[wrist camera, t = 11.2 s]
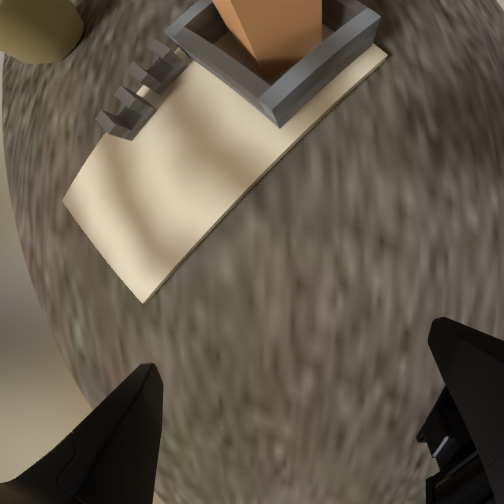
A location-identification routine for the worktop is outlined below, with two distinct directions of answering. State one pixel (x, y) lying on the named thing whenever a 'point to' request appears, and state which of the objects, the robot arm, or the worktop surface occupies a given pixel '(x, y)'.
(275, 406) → the worktop surface
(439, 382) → the worktop surface
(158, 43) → the board
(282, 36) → the plug
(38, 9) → the squeeze bottle
